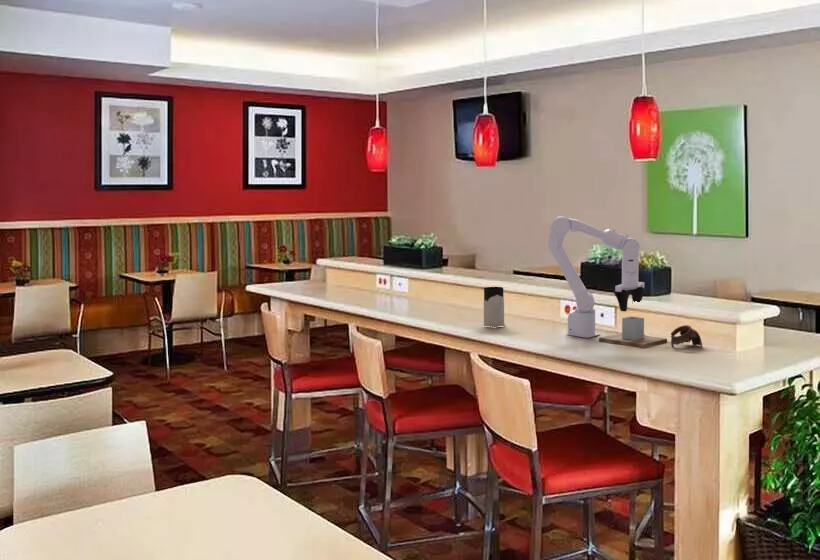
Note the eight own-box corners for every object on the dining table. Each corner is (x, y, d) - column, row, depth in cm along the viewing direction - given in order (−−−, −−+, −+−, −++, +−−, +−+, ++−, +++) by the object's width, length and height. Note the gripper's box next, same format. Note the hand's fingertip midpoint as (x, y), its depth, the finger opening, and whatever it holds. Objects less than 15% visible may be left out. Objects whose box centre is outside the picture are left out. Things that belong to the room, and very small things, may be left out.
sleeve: (622, 338, 298) (622, 318, 297) (631, 336, 301) (631, 316, 300) (634, 340, 294) (634, 319, 293) (643, 338, 297) (644, 318, 296)
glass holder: (487, 328, 329) (486, 289, 327) (475, 323, 342) (474, 285, 341) (508, 327, 331) (508, 288, 329) (496, 321, 345) (495, 284, 343)
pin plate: (598, 340, 300) (598, 327, 299) (623, 335, 309) (623, 322, 308) (643, 347, 286) (643, 334, 286) (667, 342, 295) (667, 328, 295)
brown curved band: (706, 351, 281) (696, 330, 279) (679, 362, 284) (668, 342, 282) (700, 335, 292) (690, 315, 290) (674, 346, 295) (664, 327, 293)
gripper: (627, 274, 298) (627, 313, 299) (651, 270, 307) (651, 308, 308) (610, 273, 303) (610, 311, 305) (635, 269, 312) (634, 306, 314)
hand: (629, 309), depth 307 cm, fingers open, 7 cm apart
